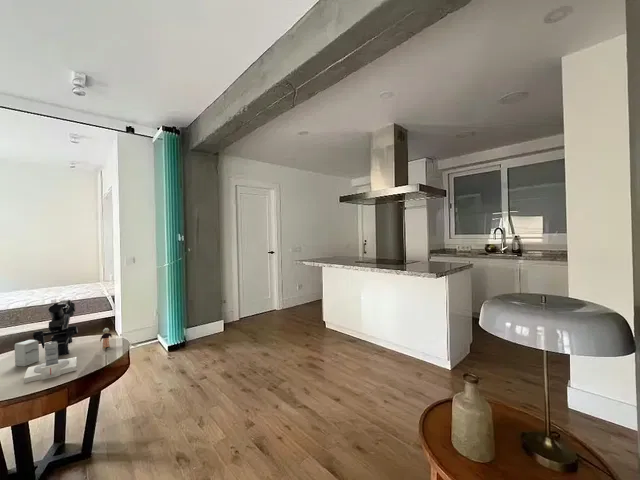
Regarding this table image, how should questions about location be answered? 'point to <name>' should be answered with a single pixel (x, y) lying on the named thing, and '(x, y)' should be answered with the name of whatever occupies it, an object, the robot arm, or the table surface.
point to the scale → (50, 370)
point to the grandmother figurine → (105, 338)
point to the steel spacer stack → (51, 353)
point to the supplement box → (26, 352)
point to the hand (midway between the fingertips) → (54, 346)
